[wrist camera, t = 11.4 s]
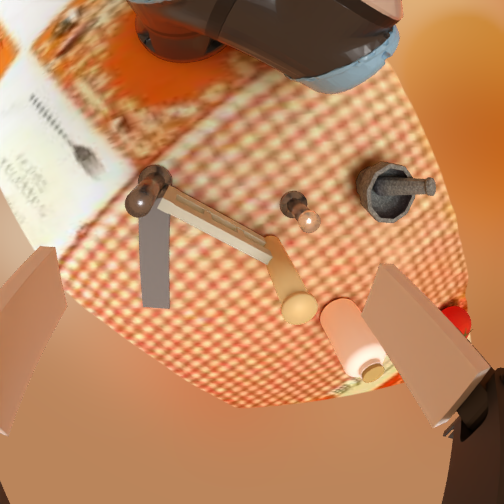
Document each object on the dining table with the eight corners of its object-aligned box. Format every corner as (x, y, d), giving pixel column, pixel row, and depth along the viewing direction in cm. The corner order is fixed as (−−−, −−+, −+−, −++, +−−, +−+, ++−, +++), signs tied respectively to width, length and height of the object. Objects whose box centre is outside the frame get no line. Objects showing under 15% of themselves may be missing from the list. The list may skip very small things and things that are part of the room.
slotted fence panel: (160, 201, 42) (135, 252, 27) (173, 177, 41) (152, 216, 25) (272, 260, 50) (302, 329, 34) (287, 240, 48) (324, 303, 33)
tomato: (427, 336, 69) (447, 361, 60) (428, 311, 64) (451, 337, 55) (453, 319, 69) (474, 341, 59) (456, 293, 64) (480, 316, 54)
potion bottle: (320, 298, 56) (357, 364, 40) (357, 293, 57) (401, 352, 41) (316, 330, 60) (346, 395, 44) (351, 324, 61) (387, 383, 45)
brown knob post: (139, 164, 40) (116, 181, 30) (173, 165, 41) (160, 182, 31) (138, 197, 42) (117, 224, 32) (171, 198, 43) (159, 226, 33)
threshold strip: (140, 174, 41) (139, 175, 41) (171, 176, 42) (171, 176, 41) (143, 305, 51) (143, 306, 51) (169, 307, 52) (169, 308, 52)
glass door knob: (282, 189, 45) (297, 205, 38) (308, 192, 46) (328, 209, 38) (277, 215, 47) (292, 236, 40) (303, 218, 48) (321, 238, 40)
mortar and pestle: (358, 219, 50) (394, 247, 39) (337, 174, 45) (375, 193, 35) (404, 189, 48) (446, 210, 38) (388, 144, 44) (432, 156, 33)
